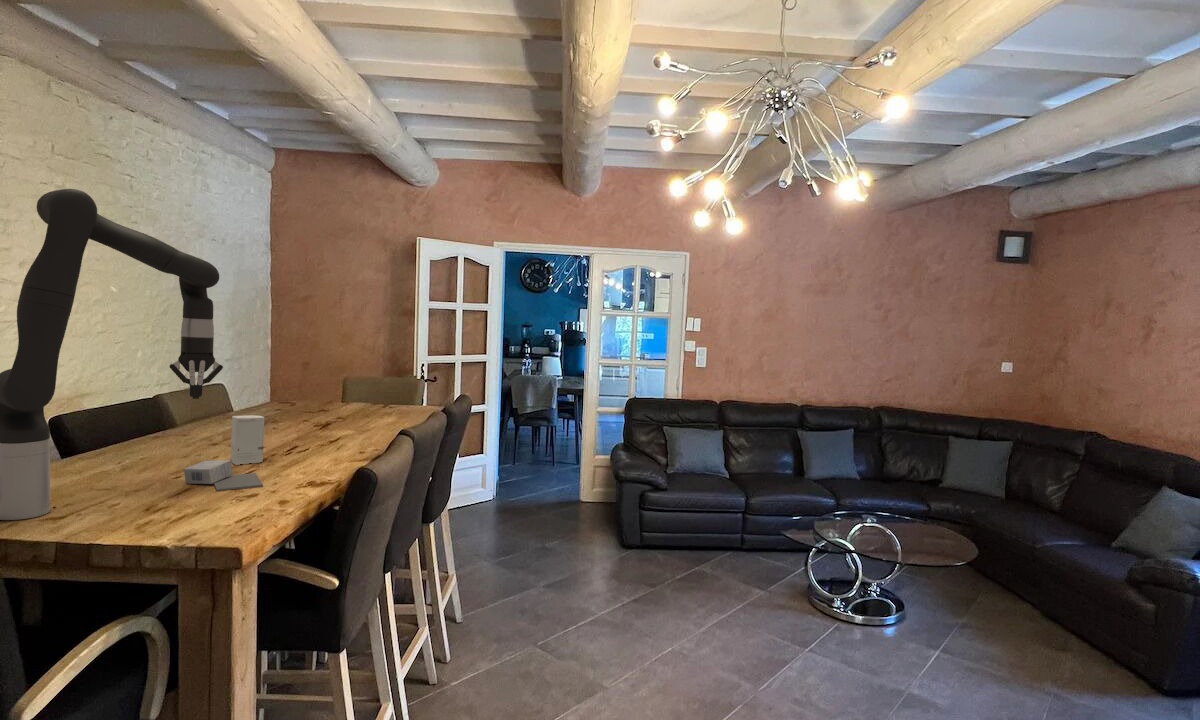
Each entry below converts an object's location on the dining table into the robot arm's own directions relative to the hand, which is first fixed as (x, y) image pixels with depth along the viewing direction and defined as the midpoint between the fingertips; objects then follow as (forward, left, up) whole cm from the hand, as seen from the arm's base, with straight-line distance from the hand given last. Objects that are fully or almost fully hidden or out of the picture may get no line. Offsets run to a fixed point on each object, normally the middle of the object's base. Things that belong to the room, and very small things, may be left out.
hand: (195, 398), depth 173 cm
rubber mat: (+10, -4, -24) cm, 26 cm away
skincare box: (+15, +21, -24) cm, 35 cm away
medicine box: (0, -2, -21) cm, 21 cm away
